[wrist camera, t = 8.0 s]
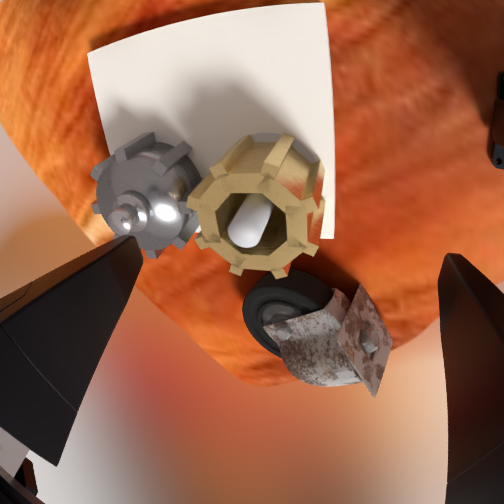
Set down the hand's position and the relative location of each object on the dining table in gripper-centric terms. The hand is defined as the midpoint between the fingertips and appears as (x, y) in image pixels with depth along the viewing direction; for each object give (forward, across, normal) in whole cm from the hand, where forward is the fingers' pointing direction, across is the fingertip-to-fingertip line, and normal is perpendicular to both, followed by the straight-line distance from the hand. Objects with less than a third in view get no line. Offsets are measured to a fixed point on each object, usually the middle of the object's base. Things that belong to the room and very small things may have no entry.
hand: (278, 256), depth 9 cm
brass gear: (+11, +3, +3) cm, 12 cm away
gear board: (+13, +7, 0) cm, 15 cm away
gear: (+12, +11, +3) cm, 16 cm away
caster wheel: (+13, 0, +15) cm, 20 cm away
